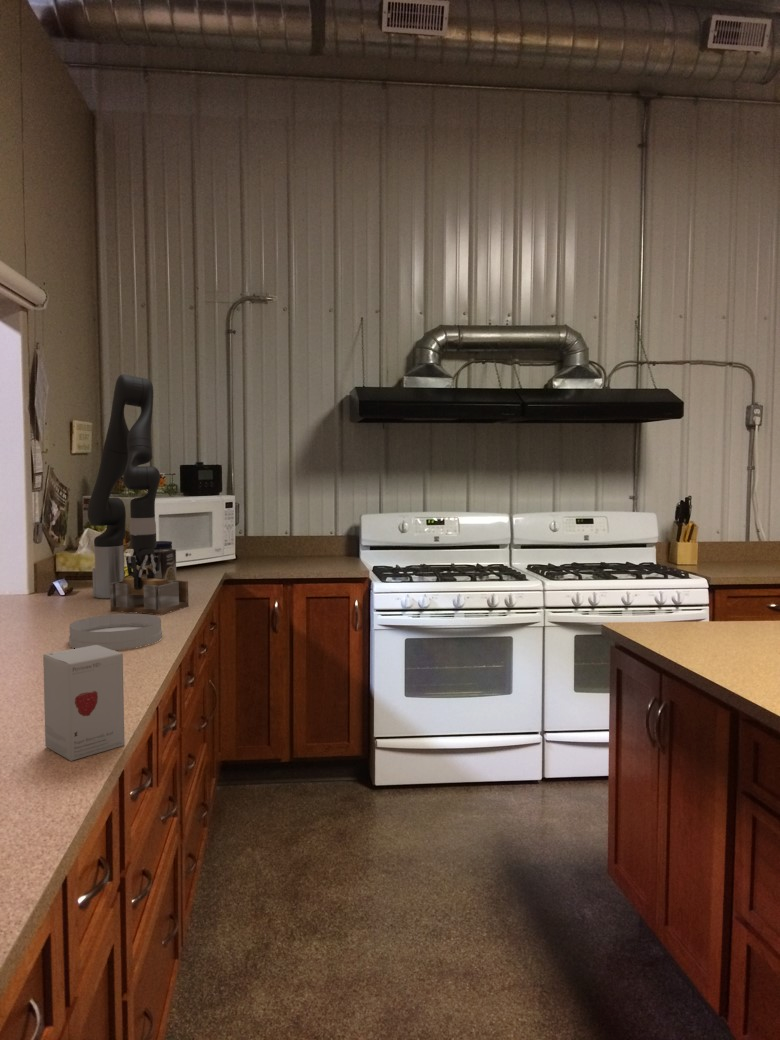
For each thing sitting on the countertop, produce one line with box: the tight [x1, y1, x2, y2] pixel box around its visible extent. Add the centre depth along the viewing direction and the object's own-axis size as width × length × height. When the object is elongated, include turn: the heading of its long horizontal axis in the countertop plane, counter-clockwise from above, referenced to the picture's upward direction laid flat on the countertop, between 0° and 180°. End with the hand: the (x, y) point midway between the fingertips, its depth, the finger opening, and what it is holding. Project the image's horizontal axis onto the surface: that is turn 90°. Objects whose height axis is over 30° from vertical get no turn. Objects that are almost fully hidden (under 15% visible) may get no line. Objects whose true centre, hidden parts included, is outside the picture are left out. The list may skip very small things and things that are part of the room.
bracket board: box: [109, 579, 189, 615], centre depth 228 cm, size 18×14×8 cm
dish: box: [68, 613, 163, 651], centre depth 187 cm, size 22×22×5 cm
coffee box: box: [145, 548, 177, 580], centre depth 245 cm, size 9×6×16 cm
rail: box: [123, 576, 167, 596], centre depth 226 cm, size 13×4×4 cm, turn 72°
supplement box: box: [42, 645, 126, 762], centre depth 116 cm, size 9×9×15 cm
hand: (144, 587), depth 226 cm, fingers open, 5 cm apart
